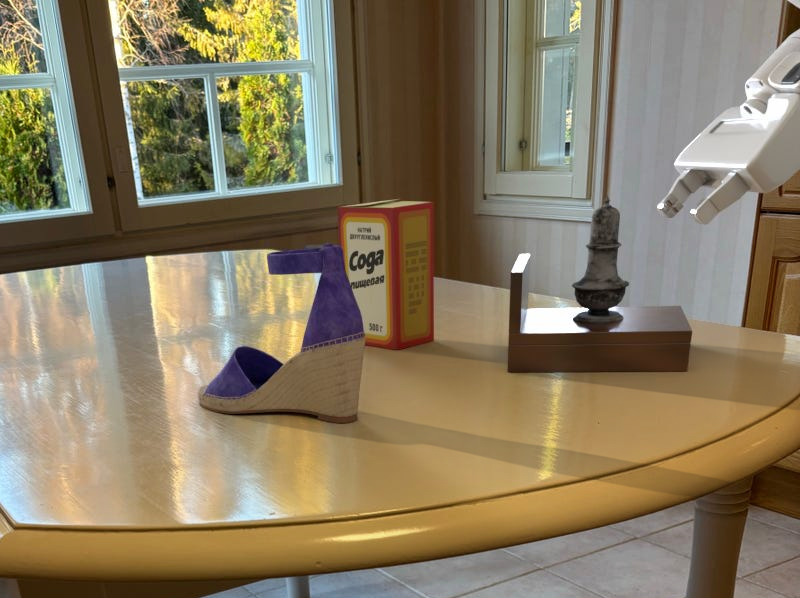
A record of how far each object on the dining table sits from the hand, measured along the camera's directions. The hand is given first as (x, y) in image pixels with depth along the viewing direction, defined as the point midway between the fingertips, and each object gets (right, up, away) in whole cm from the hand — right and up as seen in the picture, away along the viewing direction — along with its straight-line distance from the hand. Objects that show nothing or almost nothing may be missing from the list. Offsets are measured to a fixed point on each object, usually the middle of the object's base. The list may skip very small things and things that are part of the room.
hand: (679, 216), depth 95 cm
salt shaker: (-7, -9, +5) cm, 12 cm away
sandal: (-41, -21, -4) cm, 46 cm away
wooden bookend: (-7, -12, +7) cm, 16 cm away
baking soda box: (-28, -6, +22) cm, 36 cm away
